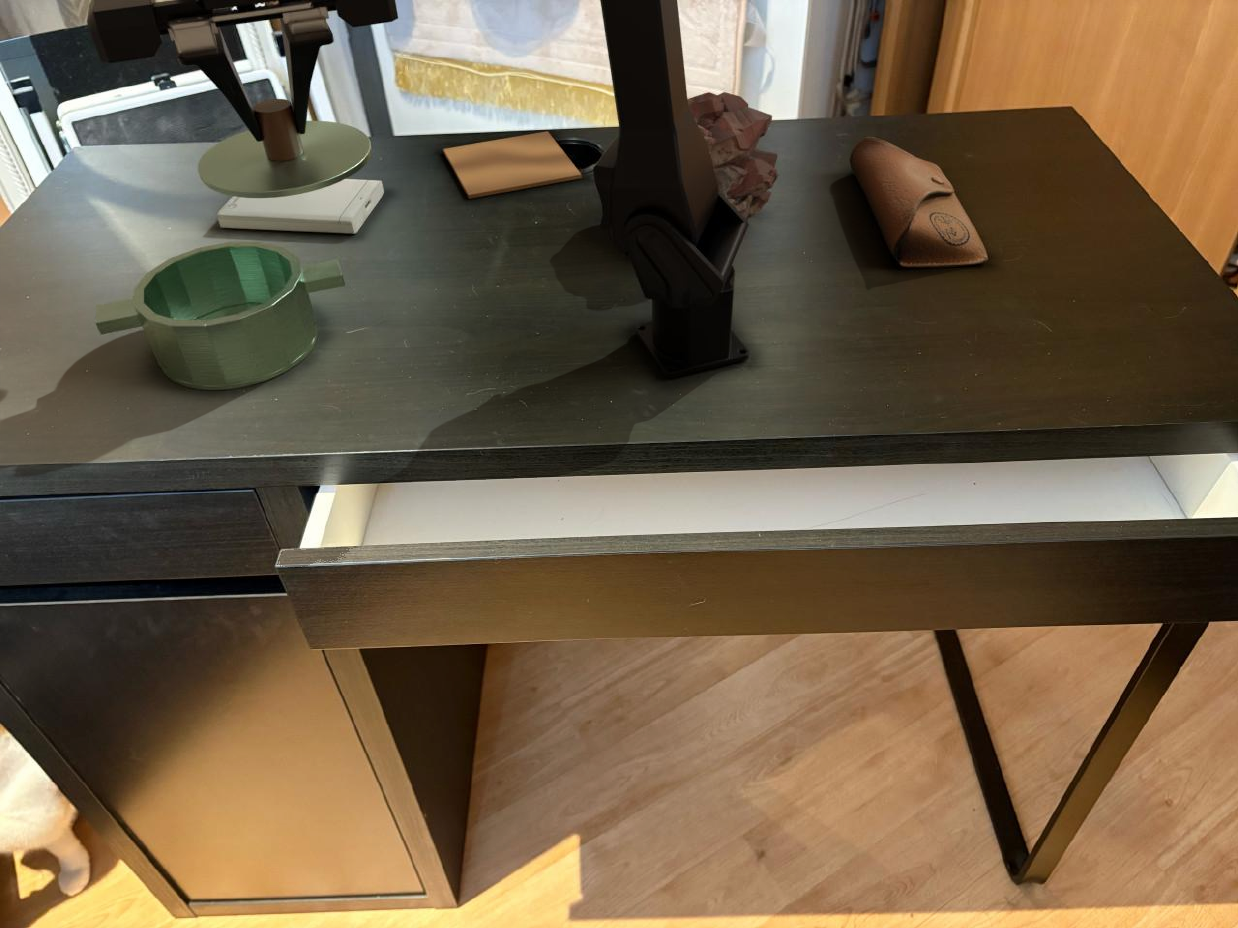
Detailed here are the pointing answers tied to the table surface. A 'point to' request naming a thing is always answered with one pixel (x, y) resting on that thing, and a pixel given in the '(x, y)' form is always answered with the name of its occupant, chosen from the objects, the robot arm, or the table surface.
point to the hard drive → (307, 209)
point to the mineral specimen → (736, 149)
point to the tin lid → (284, 156)
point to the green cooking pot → (226, 313)
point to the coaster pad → (510, 164)
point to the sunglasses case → (915, 208)
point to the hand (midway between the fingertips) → (281, 135)
